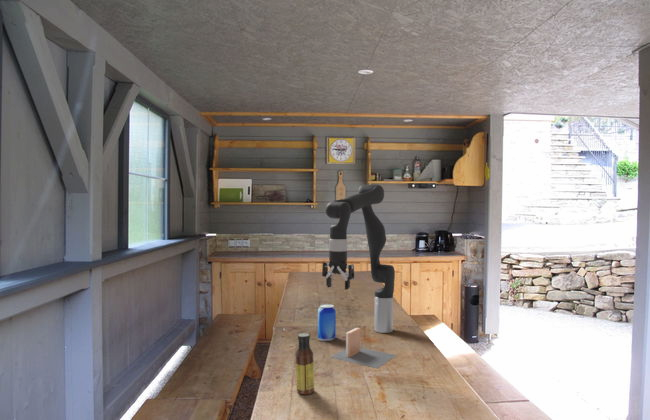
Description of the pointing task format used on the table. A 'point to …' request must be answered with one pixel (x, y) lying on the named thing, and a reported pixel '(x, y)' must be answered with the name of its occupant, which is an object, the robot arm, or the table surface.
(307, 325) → the table surface
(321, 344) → the table surface
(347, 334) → the tile
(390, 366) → the table surface
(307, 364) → the sauce bottle
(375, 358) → the mat
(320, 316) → the beer can
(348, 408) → the table surface
